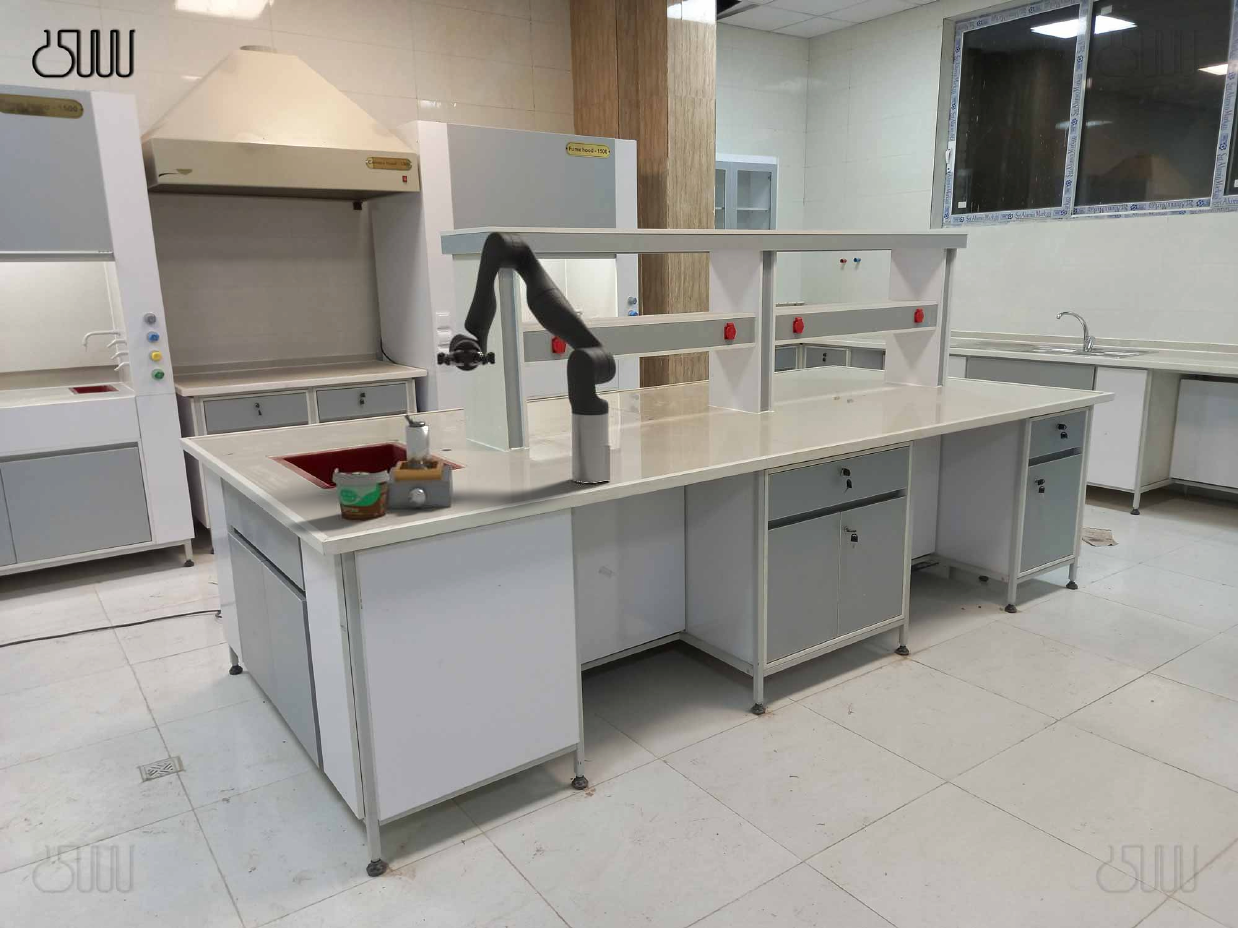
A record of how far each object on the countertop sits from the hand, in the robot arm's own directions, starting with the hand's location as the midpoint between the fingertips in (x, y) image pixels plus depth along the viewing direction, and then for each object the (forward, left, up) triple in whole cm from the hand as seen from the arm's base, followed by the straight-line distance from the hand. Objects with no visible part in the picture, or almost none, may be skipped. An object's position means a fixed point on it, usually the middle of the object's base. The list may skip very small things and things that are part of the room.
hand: (465, 361), depth 209 cm
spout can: (+11, +17, -24) cm, 31 cm away
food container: (+23, +31, -30) cm, 49 cm away
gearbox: (+11, +19, -30) cm, 37 cm away
